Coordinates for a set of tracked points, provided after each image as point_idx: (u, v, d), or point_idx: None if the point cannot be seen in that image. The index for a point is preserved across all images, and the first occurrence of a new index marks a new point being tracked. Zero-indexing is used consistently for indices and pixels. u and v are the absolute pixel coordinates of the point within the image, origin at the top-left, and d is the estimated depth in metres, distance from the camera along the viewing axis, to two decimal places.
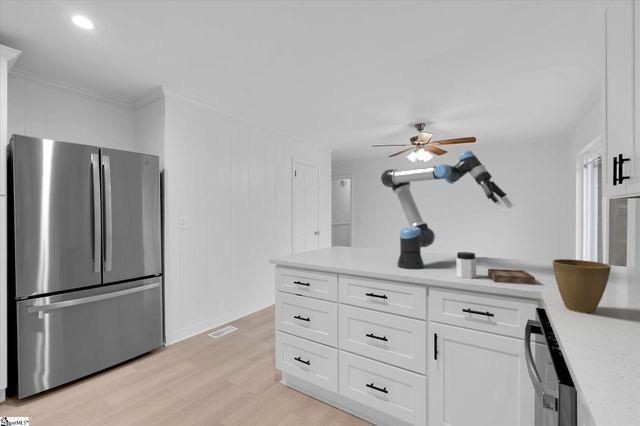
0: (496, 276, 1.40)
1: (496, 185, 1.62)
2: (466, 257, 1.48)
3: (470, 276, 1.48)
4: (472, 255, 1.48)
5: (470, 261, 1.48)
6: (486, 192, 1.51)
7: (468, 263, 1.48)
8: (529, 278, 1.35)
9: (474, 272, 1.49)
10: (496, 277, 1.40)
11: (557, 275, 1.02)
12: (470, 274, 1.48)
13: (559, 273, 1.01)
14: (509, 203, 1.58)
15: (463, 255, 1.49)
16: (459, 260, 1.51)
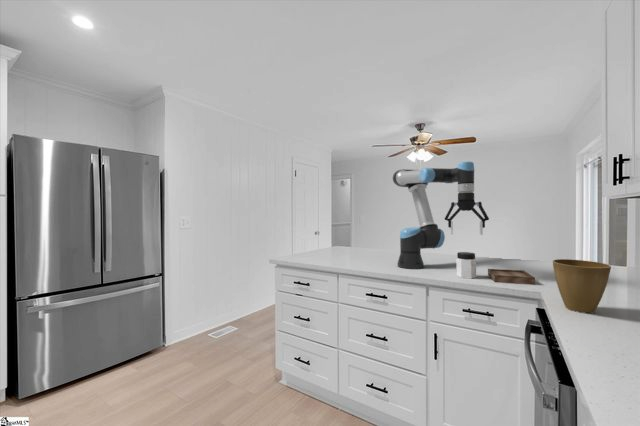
0: (496, 276, 1.40)
1: (480, 207, 1.48)
2: (466, 257, 1.48)
3: (470, 276, 1.48)
4: (472, 255, 1.48)
5: (470, 261, 1.48)
6: (446, 215, 1.55)
7: (468, 263, 1.48)
8: (529, 278, 1.35)
9: (474, 272, 1.49)
10: (496, 277, 1.40)
11: (557, 275, 1.02)
12: (470, 274, 1.48)
13: (559, 273, 1.01)
14: (480, 230, 1.49)
15: (463, 255, 1.49)
16: (459, 260, 1.51)
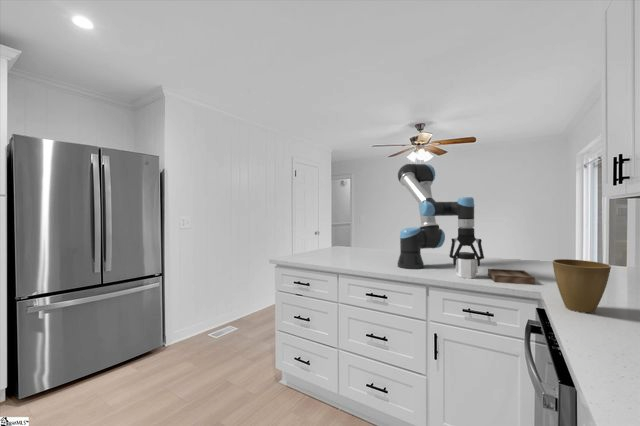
0: (496, 276, 1.40)
1: (479, 245, 1.49)
2: (466, 257, 1.48)
3: (470, 276, 1.48)
4: (472, 255, 1.48)
5: (470, 261, 1.48)
6: (450, 252, 1.55)
7: (468, 263, 1.48)
8: (529, 278, 1.35)
9: (474, 272, 1.49)
10: (496, 277, 1.40)
11: (557, 275, 1.02)
12: (470, 274, 1.48)
13: (559, 273, 1.01)
14: None
15: (463, 255, 1.49)
16: (459, 260, 1.51)
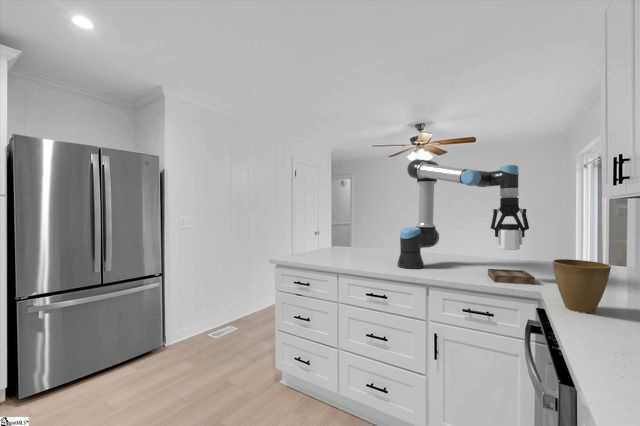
0: (496, 276, 1.40)
1: (524, 215, 1.41)
2: (510, 227, 1.41)
3: (514, 247, 1.40)
4: (516, 225, 1.41)
5: (514, 232, 1.40)
6: (491, 224, 1.47)
7: (512, 234, 1.41)
8: (529, 278, 1.35)
9: (518, 243, 1.42)
10: (496, 277, 1.40)
11: (557, 275, 1.02)
12: (514, 245, 1.40)
13: (559, 273, 1.01)
14: None
15: (507, 225, 1.42)
16: (502, 231, 1.44)
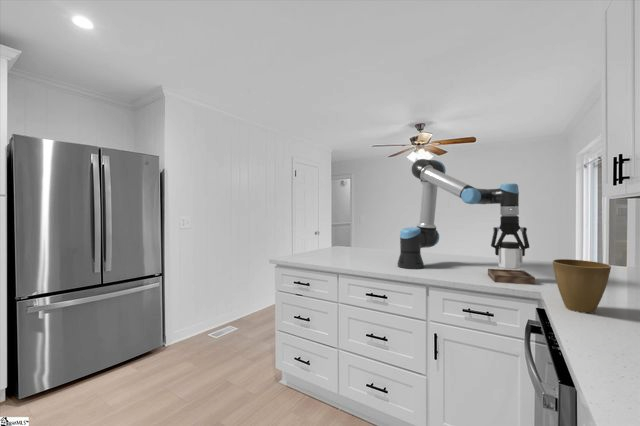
0: (496, 276, 1.40)
1: (524, 233, 1.42)
2: (510, 246, 1.41)
3: (515, 266, 1.40)
4: (517, 244, 1.41)
5: (515, 250, 1.40)
6: None
7: (512, 252, 1.41)
8: (529, 278, 1.35)
9: (518, 262, 1.42)
10: (496, 277, 1.40)
11: (557, 275, 1.02)
12: (515, 264, 1.40)
13: (559, 273, 1.01)
14: (520, 259, 1.43)
15: (507, 244, 1.42)
16: (502, 250, 1.44)
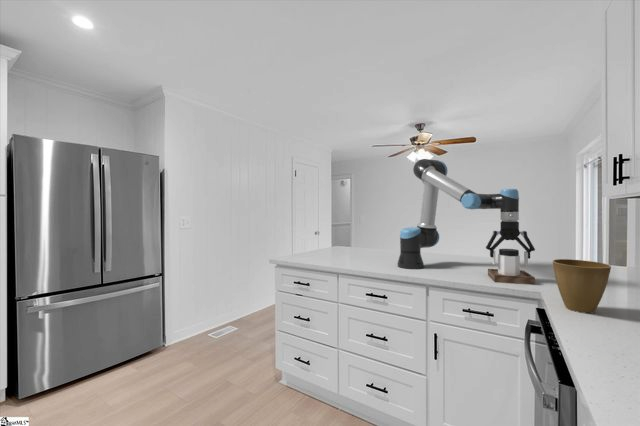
0: (496, 276, 1.40)
1: (526, 237, 1.41)
2: (510, 254, 1.41)
3: (514, 274, 1.41)
4: (516, 251, 1.41)
5: (514, 258, 1.41)
6: (487, 244, 1.48)
7: (512, 260, 1.41)
8: (529, 278, 1.35)
9: (518, 269, 1.42)
10: (496, 277, 1.40)
11: (557, 275, 1.02)
12: (514, 271, 1.41)
13: (559, 273, 1.01)
14: (525, 261, 1.42)
15: (506, 251, 1.42)
16: (502, 257, 1.44)
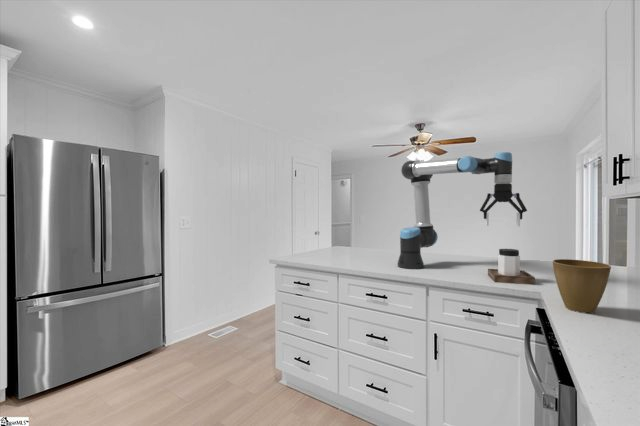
0: (496, 276, 1.40)
1: (518, 198, 1.47)
2: (510, 254, 1.41)
3: (514, 274, 1.41)
4: (516, 252, 1.41)
5: (514, 258, 1.41)
6: None
7: (512, 260, 1.41)
8: (529, 278, 1.35)
9: (518, 269, 1.42)
10: (496, 277, 1.40)
11: (557, 275, 1.02)
12: (514, 271, 1.41)
13: (559, 273, 1.01)
14: (517, 222, 1.47)
15: (506, 252, 1.42)
16: (502, 257, 1.44)
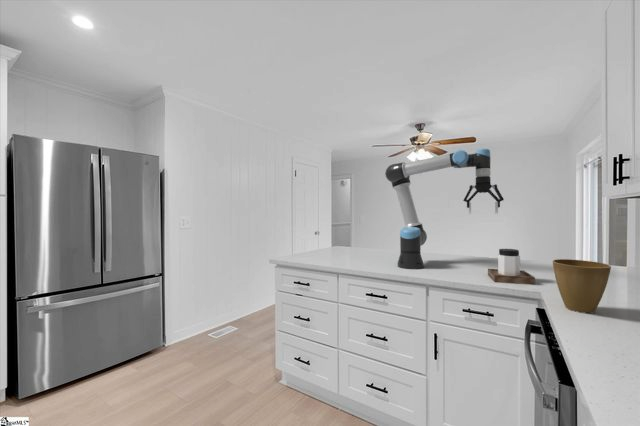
0: (496, 276, 1.40)
1: (496, 189, 1.68)
2: (510, 254, 1.41)
3: (514, 274, 1.41)
4: (516, 252, 1.41)
5: (514, 258, 1.41)
6: (465, 197, 1.75)
7: (512, 260, 1.41)
8: (529, 278, 1.35)
9: (518, 269, 1.42)
10: (496, 277, 1.40)
11: (557, 275, 1.02)
12: (514, 271, 1.41)
13: (559, 273, 1.01)
14: (496, 210, 1.69)
15: (506, 252, 1.42)
16: (502, 257, 1.44)
